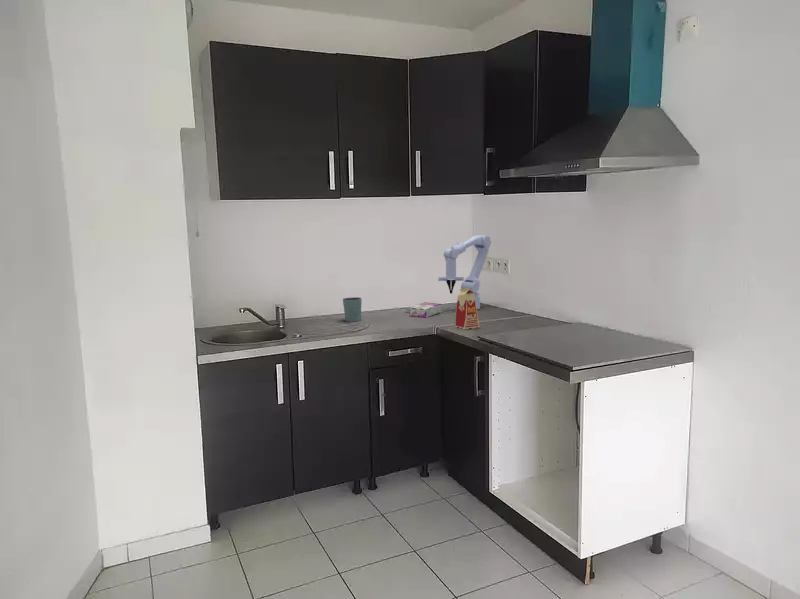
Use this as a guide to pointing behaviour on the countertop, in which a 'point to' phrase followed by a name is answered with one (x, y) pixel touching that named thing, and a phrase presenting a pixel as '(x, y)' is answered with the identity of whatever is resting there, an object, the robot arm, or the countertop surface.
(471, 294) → the milk carton
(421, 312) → the candy bar box
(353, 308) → the teal cup
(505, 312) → the countertop surface
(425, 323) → the countertop surface
